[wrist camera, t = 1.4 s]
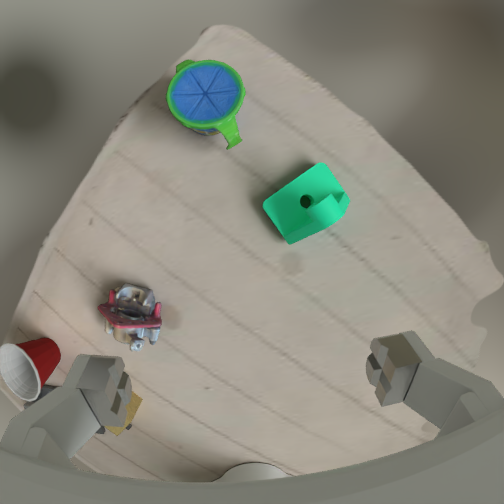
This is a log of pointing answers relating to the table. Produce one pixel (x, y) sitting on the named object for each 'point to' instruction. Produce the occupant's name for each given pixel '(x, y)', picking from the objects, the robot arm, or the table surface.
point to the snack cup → (207, 98)
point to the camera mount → (317, 214)
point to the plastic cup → (28, 366)
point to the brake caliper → (132, 315)
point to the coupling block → (131, 411)
